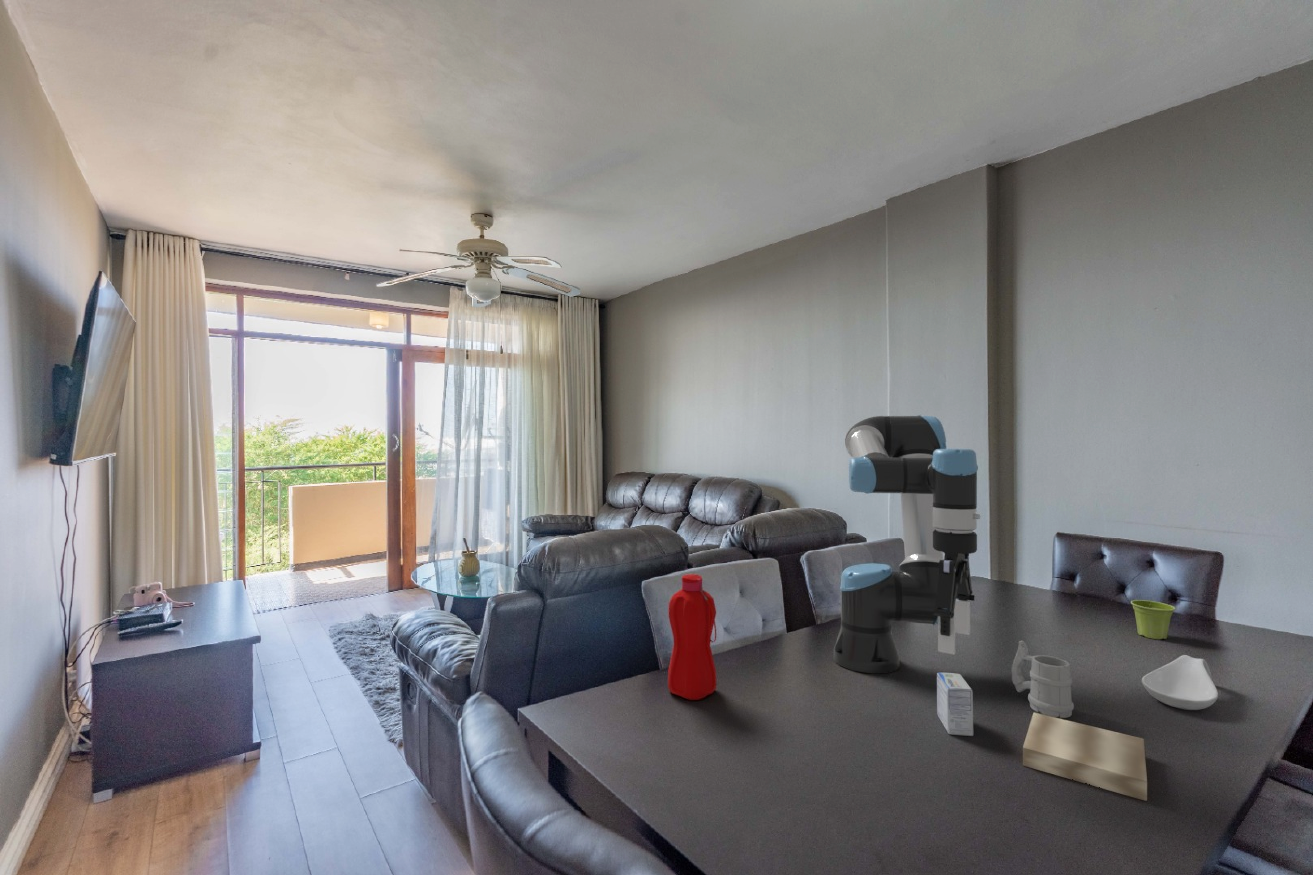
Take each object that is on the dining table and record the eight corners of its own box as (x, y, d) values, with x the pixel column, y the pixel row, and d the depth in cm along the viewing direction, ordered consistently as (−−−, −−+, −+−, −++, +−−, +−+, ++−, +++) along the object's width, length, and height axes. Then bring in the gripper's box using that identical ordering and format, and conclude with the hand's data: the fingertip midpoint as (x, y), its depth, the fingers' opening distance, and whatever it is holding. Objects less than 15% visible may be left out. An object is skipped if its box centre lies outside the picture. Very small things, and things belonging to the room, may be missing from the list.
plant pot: (1171, 634, 165) (1171, 603, 165) (1178, 644, 157) (1178, 611, 158) (1128, 628, 170) (1128, 598, 170) (1133, 637, 163) (1133, 606, 163)
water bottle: (702, 707, 121) (702, 584, 121) (661, 692, 128) (661, 575, 128) (728, 693, 127) (728, 576, 127) (689, 679, 135) (689, 568, 135)
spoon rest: (1211, 724, 114) (1212, 686, 114) (1135, 702, 123) (1135, 668, 123) (1232, 691, 129) (1233, 657, 129) (1162, 674, 138) (1163, 643, 138)
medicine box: (973, 737, 109) (973, 689, 109) (947, 734, 110) (947, 687, 110) (960, 717, 117) (960, 673, 117) (936, 715, 118) (936, 671, 117)
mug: (1058, 722, 115) (1058, 659, 115) (1000, 697, 125) (1000, 640, 125) (1082, 714, 118) (1082, 653, 118) (1023, 691, 129) (1023, 635, 129)
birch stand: (1022, 765, 100) (1022, 747, 100) (1033, 728, 112) (1033, 712, 112) (1146, 801, 90) (1147, 781, 90) (1143, 756, 102) (1143, 738, 102)
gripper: (962, 540, 101) (963, 666, 101) (988, 524, 121) (988, 629, 120) (915, 536, 106) (916, 656, 105) (947, 521, 125) (948, 623, 125)
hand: (954, 642), depth 113 cm, fingers open, 13 cm apart
